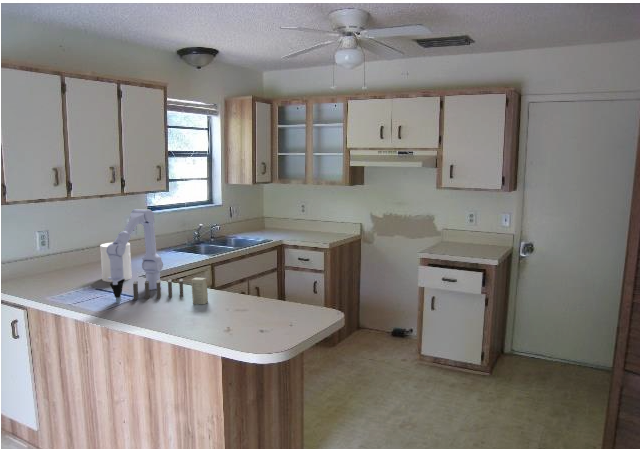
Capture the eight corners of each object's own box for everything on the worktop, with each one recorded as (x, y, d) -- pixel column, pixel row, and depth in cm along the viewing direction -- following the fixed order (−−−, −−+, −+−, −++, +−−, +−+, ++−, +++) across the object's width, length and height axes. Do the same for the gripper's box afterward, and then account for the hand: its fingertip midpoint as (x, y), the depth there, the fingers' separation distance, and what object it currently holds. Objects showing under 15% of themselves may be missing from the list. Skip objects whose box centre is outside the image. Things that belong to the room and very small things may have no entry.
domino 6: (180, 294, 257) (179, 278, 256) (183, 293, 257) (182, 278, 256) (179, 296, 252) (179, 281, 251) (183, 296, 253) (182, 281, 251)
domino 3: (146, 296, 253) (145, 280, 252) (149, 295, 253) (149, 280, 252) (145, 298, 248) (144, 283, 247) (148, 298, 249) (148, 283, 247)
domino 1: (117, 300, 245) (116, 284, 244) (121, 300, 245) (120, 284, 244) (116, 303, 240) (115, 287, 239) (119, 303, 241) (118, 287, 239)
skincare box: (208, 302, 243) (207, 277, 241) (203, 304, 239) (203, 279, 237) (196, 301, 244) (195, 276, 243) (191, 303, 240) (191, 279, 239)
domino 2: (134, 296, 252) (134, 281, 250) (138, 296, 252) (137, 281, 251) (133, 299, 247) (133, 284, 246) (137, 299, 247) (136, 283, 246)
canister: (136, 275, 296) (135, 242, 293) (123, 282, 280) (121, 247, 277) (111, 274, 298) (109, 241, 295) (96, 281, 282) (94, 246, 279)
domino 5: (169, 294, 256) (168, 279, 254) (172, 294, 256) (171, 279, 255) (168, 297, 251) (167, 282, 250) (171, 297, 251) (171, 281, 250)
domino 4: (157, 295, 254) (157, 280, 253) (161, 295, 255) (160, 280, 254) (157, 298, 249) (156, 282, 248) (160, 298, 250) (159, 282, 249)
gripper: (110, 265, 246) (111, 292, 248) (105, 272, 232) (107, 300, 234) (125, 264, 248) (126, 291, 250) (121, 271, 234) (123, 299, 236)
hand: (118, 295), depth 242 cm, fingers closed on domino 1, 5 cm apart
